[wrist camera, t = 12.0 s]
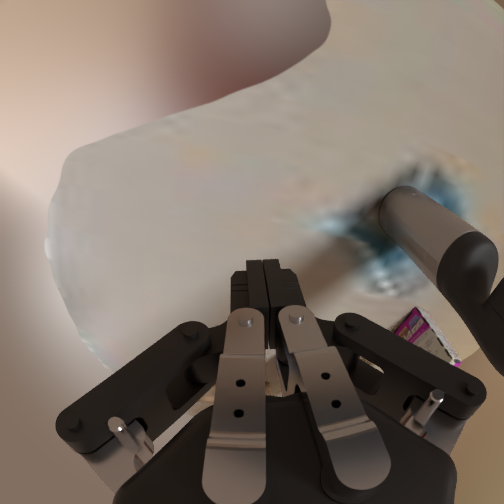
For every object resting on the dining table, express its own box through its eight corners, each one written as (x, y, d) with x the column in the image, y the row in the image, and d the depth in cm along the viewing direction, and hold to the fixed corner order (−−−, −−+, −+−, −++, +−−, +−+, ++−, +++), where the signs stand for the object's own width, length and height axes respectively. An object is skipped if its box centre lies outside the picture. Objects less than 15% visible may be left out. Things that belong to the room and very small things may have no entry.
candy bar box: (398, 346, 61) (425, 399, 46) (384, 342, 59) (412, 398, 45) (428, 310, 56) (464, 362, 42) (415, 305, 55) (452, 359, 40)
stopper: (268, 382, 63) (269, 394, 60) (268, 387, 64) (269, 399, 61) (181, 384, 62) (180, 396, 59) (183, 389, 63) (181, 400, 60)
